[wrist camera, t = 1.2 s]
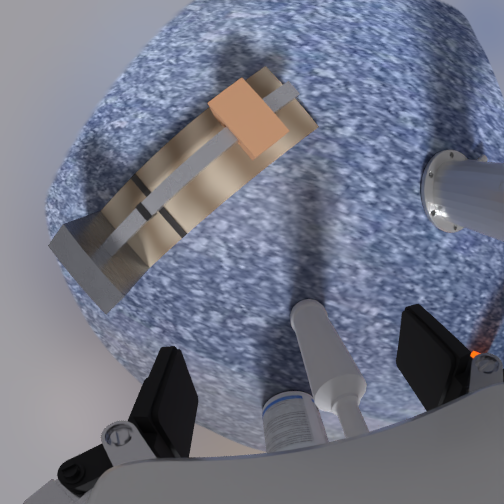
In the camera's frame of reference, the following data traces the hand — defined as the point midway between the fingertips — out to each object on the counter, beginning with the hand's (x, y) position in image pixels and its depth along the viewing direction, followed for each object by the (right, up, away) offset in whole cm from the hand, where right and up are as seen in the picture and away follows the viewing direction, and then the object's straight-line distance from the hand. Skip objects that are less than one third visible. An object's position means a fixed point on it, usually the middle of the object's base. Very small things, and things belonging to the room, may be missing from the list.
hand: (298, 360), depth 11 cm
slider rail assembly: (-9, +13, +23) cm, 28 cm away
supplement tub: (+5, -23, +34) cm, 41 cm away
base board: (-9, +13, +23) cm, 28 cm away
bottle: (+6, -4, +28) cm, 29 cm away
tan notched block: (-2, +18, +19) cm, 27 cm away
